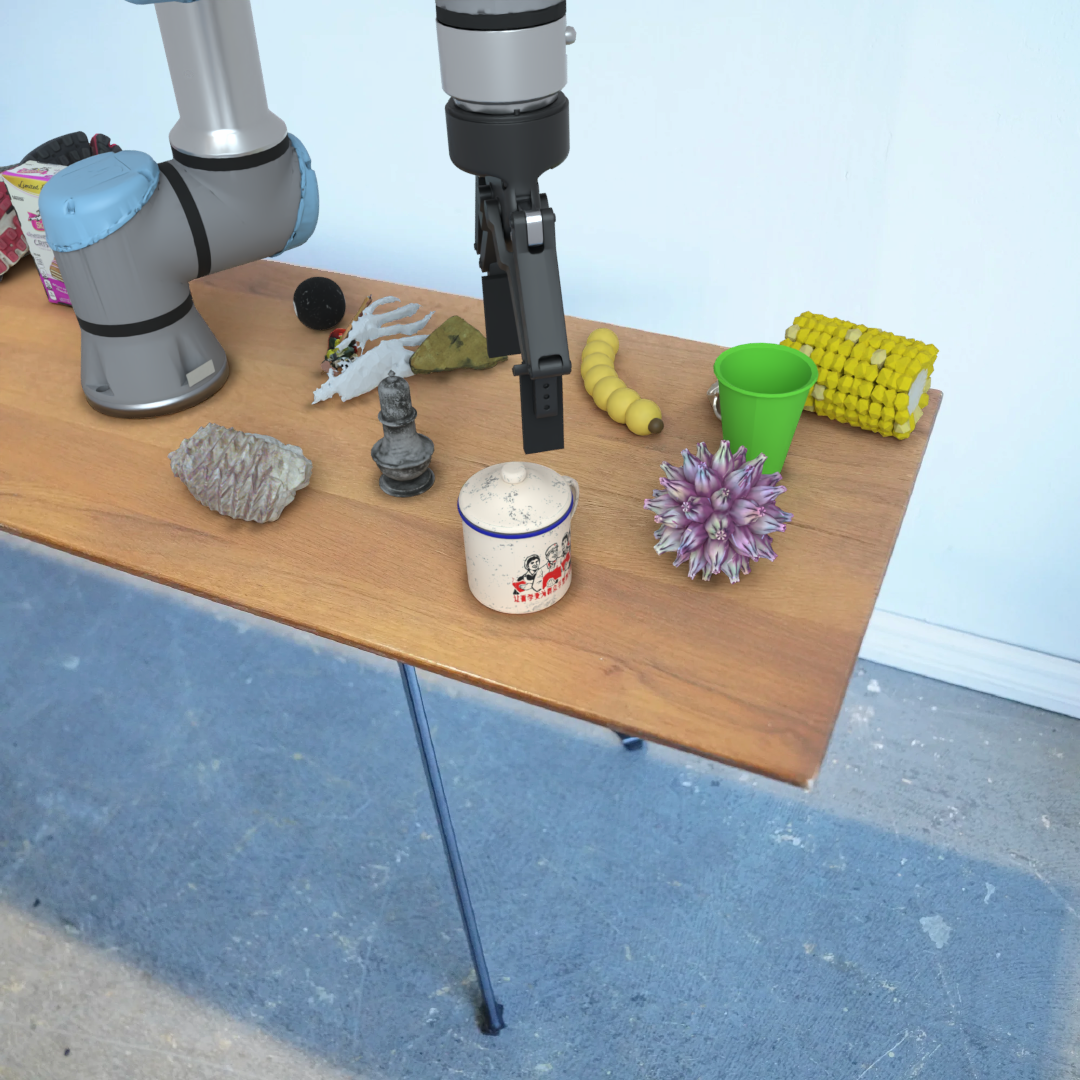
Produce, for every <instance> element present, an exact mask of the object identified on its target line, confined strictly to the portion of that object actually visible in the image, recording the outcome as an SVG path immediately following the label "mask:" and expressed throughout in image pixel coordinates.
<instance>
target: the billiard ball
mask: <svg viewBox="0 0 1080 1080" xmlns="http://www.w3.org/2000/svg"><path fill="white" fill-rule="evenodd" d="M292 306H293V310H294V313H295V315H296V317H297V319H298V320H299V322H300V323H301V324H302V325H304V326H305V327H306V328H309V329H311V330H314V331H327V330H331V329H333V328H334V327H336V326H337V325H339V324H340V323H341V322H342V320H343V319H344V317H345V315H346V309H347V301H346V297H345V294H344V291H343V290H342V288H341V286H340V285H339V284H338V283H337V282H336V281H334V280H333V279H331V278H328V277H326V276H311V277H308V278H305V280H302V281H301V282H300V283H299V284H298V285H297V286H296V288H295V289H294V292H293V296H292Z"/></svg>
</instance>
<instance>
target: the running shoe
mask: <svg viewBox="0 0 1080 1080" xmlns="http://www.w3.org/2000/svg"><path fill="white" fill-rule="evenodd" d="M111 140H112V139H111V138H110V137H109V136H108V135H106V134H104V133H95V134H93V136H92V137H91V139H90V140H89V138H88V136H87V134H86V133H85V132H84V131H82V130H77V131H74V132H70V133H66V134H62V135H60V136H57V137H55V138H52V139H49V140H47V141H44V142H43V143H41V144H40V145H38V146H37V147H35V148H33V149H32V150H31V151H29V152H28V153H27V154H25V156H23V158H22V159H21V160H20V161H19V162H17V163H14V164H9V165H5V166H4V165H3V166H0V282H2V281H3V277H4V275H5V273H7V272H8V271H9V270H10V268H11V267H13V266H14V265H16V264H17V263H18V262H19V261H20V260H21V259H23V258H25V257H26V256H28V255H31V252H30V250H29V247H28V244H27V242H26V239H25V236H24V234H23V232H22V229H21V226H20V223H19V221H18V218H17V215H16V213H15V210H14V208H13V205H12V202H11V200H10V197H9V194H8V192H7V189H6V187H5V184H4V181H3V178H2V176H1V174H2V173H4V172H5V171H7V170H9V169H13V168H14V167H16V166H18V165H21V164H23V163H25V162H27V161H30V160H31V161H37V162H43V163H49V164H56V165H62V166H70V165H72V164H74V163H76V162H78V161H81V160H83V159H86V158H89V157H92V156H95V155H98V154H103V153H107V152H114V153H118V152H120V151H122V150H123V149H122V147H121V146H120V145H118V144H117V143H111Z"/></svg>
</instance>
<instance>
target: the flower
mask: <svg viewBox="0 0 1080 1080" xmlns="http://www.w3.org/2000/svg"><path fill="white" fill-rule="evenodd" d="M746 453H747V448H745V447H744V446H743V445H742V446H740V447H739V449H738V451H737V452H736V453H735V454H734V455H732V453H731V450H730V442H729V440H728V441H726V440H723V439H721V440H720V443H719V447H718V449H717V451H716V452H715V453H714V454H712V453H711V452H710V450H709V449H708V447H707V444H706V442H705V441H702V442H697V443H696V454H693V453H691V452H690V450H689V449H688V448H687V447H685V449H682V450H681V451H680V455H681V456H682V459H683V463H682V464H683V465H680V466H679V467H678V466H675V465H672V464H671V463H670V462H668V461H667V460H662V461H661V464H659V467H660V469H661V470H662V471H663V472H664V473H665V475H666V477H665V476H663V477H661V476H660V477H659V479H658V480H659V484H660V485H661V486H662V487H664V489H658V488H657V489H656V488H654V489H652V497H653V498H645V499H644V501H643V503H644V504H643V509H644V510H648V511H652V512H653V513H654V514H655V515H654V520H653V521H654V522H655V523H656V524H661V525H660V527H659V528H658V529H656V530H654V531H653V536H654V539H655V540H659V541H658V542H657V543H655V545H654V546H653V550H655V553H656V554H657V556H662V555H663V554H666V553H669V552H675V553H676V557H675V559H674V561H673V562H672V566H673V567H675V568H679V566H681V564H683V563H685V562H688V569H689V570H688V573H687V577H688V578H690V580H691V581H693V580H694V578H695V577H696V576H697V574H698V573H700V571H701V572H702V579H701V580H702V581H705V582H707V581H708V582H710V581H711V578H712V575H713V574H714V575H717V574H720V573H721V571H722V572H723V573H724V574H725V575H726V576H727V577H728V579H729V582H730V584H731V585H735V583H737V582H738V583H740V573H742V574H743V575H744V576H745V575H749V574H750V573H751V572H752V569H751V566H750V561H751V560H752V561H753V562H755V563H758V562H759V559H761V558H763V559H767V560H769V561H770V562H774V561H775V560H776V559H777V557H779V556H778V554H777V553H776V552H775V551H774V549H773V547H772V543H773V540H774V538H773V537H772V536H770V535H769V534H772V533H776V532H781V533H785V532H786V530H787V524H786V523H791V522H793V520H792V519H793V518H794V513H792V512H787V511H785V510H783V509H781V508H780V507H779V506H777V505H776V504H777V501H776V500H777V498H778V497H779V496H780V495H782V494H784V493H785V492H787V491H788V488H787V487H786V485H777V484H778V483H779V482H780V481H781V480H783V476H782V474H781V473H780V474H779V472H775V473H773V474H762V470H763V464H764V462H765V461H766V459H767V456H765V454H763V453H760V454H759V455H758V456H757V457H756V458H755V459H753V460H751V461H748V462H746ZM776 485H777V486H776Z"/></svg>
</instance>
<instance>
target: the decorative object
mask: <svg viewBox="0 0 1080 1080" xmlns="http://www.w3.org/2000/svg"><path fill="white" fill-rule="evenodd" d="M395 302H399V303H402V302H401V299H400V298H399V297H396V296H393V295H387V296H384V297H381V298H378V299H376V300H375V301H372V302H371V303H370V305H369V306H368V307H366V308H365V310H363V315H362V317H358V321H353V323H352V330H351V331H350V332H349V336H348V338H346V339H345V340H343V341H342V342H341V343H340V344H339V345H338V346H336V347H335V348H339V350H340V351H341V350H343V349H345V348H347V347H348V345H349V344H350V343H351V341H352V340H354V339H355V340H356V342H357V344H355V346H357V350H358V349H359V348H361V353H360V355H359V356H358V357H356V360H355V361H354V362H351V360H350V359H348V360H349V361H350V362H346V361H345V360H344V362H343V361H341V362H339V363H337V364H338V365H340V366H341V364H343V366H344V367H342V368H341V371H340V374H338V375H337V376H334V375H333V374H334V372H333V369H332V368H330V369H329V373H328V372H326V375H327V377H328V379H327V381H326V382H324V383H322V384H321V385H320V388H318V387H316V389H315V390H313V391H312V393H313V399H314V400H313V401H312V403H311V405H314V404H317V403H318V402H321V401H323V402H324V401H327V400H328V399H332V398H333V396H335V394H338V396H339V397H340V399H341V402H343V403H345V402H346V401H349V400H352V399H354V398H357V397H359V396H361V395H364V394H366V393H369V392H371V391H372V390H374V389H376V388H378V385H379V383H380V382H381V381H382V380H383V379H384V378H386V377H389V376H388V373H389V371H390V370H392V371H394V372H395V375H394V376H399V377H402V378H404V379H405V378H410V377H412V376H415V374H413V372H412V371H411V368H410V365H409V359H410V357H411V356H412V355H413V354H414V352H415V351H414V350H410V349H406V348H405V347H410V348H412V347H417V346H420V345H421V344H422V343H423V342H424V341H425V339H426V338H427V337H428V336H429V335H430V334H431V333H429V334H418V332H419V331H422V330H423V329H424V328H425V327H426V326H427V324H428V322H429V321H430V320H432V316H433V315H434V314H435V313H436V312H437V311H436V310H433V311H431V310H430V311H429V313H428V314H425V316H424V317H423V318H422V319H420V320H417V321H415V322H410V323H405V324H401V323H396V324H393V325H389V326H383V325H386V324H389V323H392V322H394V321H398V320H402V319H404V318H407V317H409V318H412V317H413V316H414V315H416V314H417V313H418V310H420V307H422V305H421V304H419V303H417V302H415V303H413V302H410V303H408V304H406V305H403V306H401V307H399V306H398V307H397V309H393V310H391V311H387V312H384V313H378V314H373V313H374V311H375V310H376V308H378V307H379V306H384V305H385V304H391V303H395ZM398 334H401V335H406V336H403V337H400V338H392V339H389V340H386V339H383V340H382V339H381V340H380V341H379V345H377V346H374V347H373V348H370V349H369V350H367V351H366V352H365V353H364V354H363V351H364V349H365V347H366V345H367V342H368V341H369V340H370V341H371V342H373V341H375V340H377V339H379V338H382V337H389V336H396V335H398ZM415 334H416V335H415ZM358 343H359V345H358ZM342 359H345V357H343V358H342ZM346 364H347V365H348V368H347V367H346V366H345V365H346ZM346 368H347V369H346ZM334 371H336V372H339V370H338V371H337V370H334Z"/></svg>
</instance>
